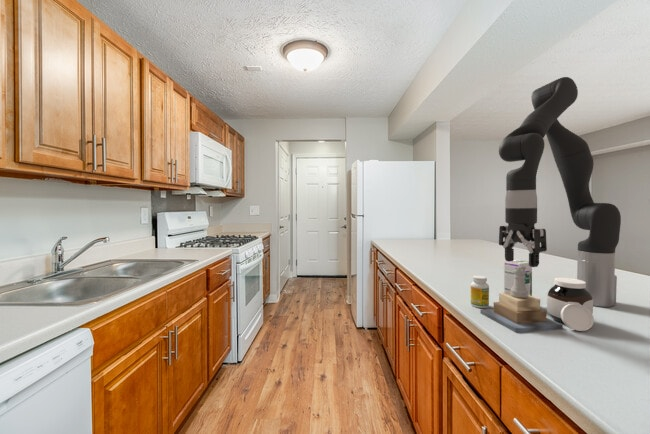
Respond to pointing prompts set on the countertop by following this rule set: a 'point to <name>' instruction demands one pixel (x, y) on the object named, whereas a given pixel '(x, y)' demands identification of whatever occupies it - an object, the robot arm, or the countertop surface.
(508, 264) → the syrup box
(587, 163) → the robot arm
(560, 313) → the spread jar
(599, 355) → the countertop surface
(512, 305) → the block tower
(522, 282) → the rook chess piece
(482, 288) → the supplement bottle
